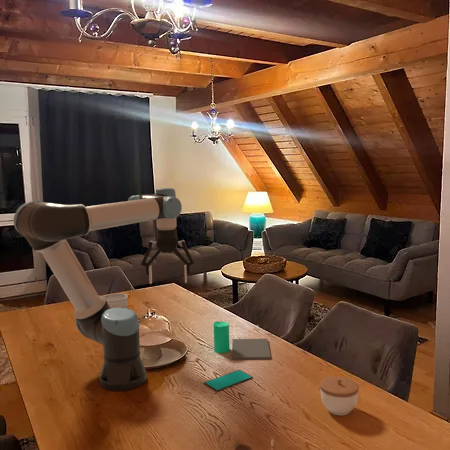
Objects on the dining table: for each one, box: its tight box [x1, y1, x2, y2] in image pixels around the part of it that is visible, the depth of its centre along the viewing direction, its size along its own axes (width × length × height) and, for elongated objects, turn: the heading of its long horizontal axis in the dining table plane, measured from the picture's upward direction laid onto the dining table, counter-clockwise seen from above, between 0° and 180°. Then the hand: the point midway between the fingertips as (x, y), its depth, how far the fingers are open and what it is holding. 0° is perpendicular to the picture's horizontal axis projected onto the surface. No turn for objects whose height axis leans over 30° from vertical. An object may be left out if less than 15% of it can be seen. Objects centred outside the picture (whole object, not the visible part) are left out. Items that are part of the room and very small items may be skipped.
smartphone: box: [203, 369, 254, 393], centre depth 157 cm, size 7×1×15 cm
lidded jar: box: [319, 376, 360, 417], centre depth 137 cm, size 11×11×9 cm
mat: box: [231, 338, 272, 360], centre depth 183 cm, size 18×14×1 cm
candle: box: [213, 320, 231, 354], centre depth 182 cm, size 6×6×12 cm
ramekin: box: [102, 293, 129, 309], centre depth 235 cm, size 13×13×7 cm
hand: (168, 282), depth 186 cm, fingers open, 13 cm apart
